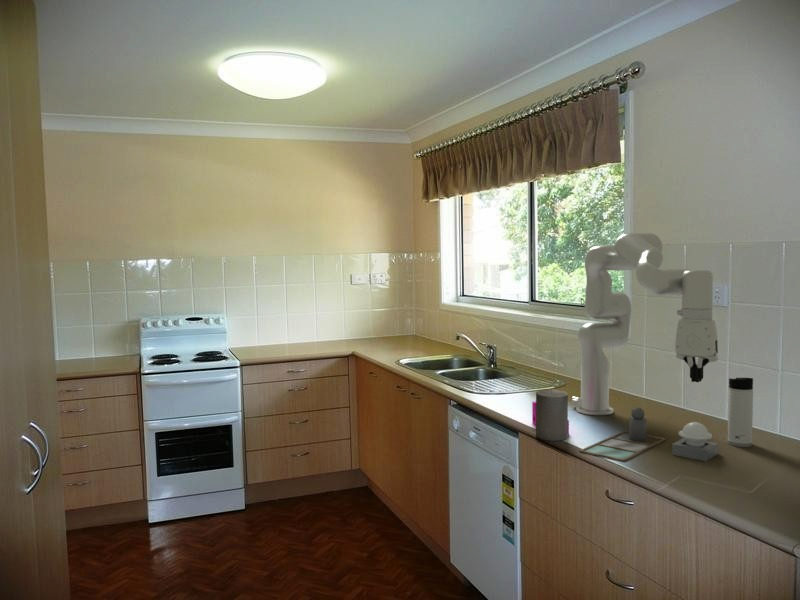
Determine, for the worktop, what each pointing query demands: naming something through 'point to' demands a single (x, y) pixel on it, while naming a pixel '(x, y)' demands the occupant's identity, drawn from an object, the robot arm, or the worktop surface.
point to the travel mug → (740, 412)
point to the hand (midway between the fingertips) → (696, 381)
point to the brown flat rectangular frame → (619, 447)
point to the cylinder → (637, 425)
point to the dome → (695, 434)
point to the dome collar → (695, 450)
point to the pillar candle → (551, 415)
